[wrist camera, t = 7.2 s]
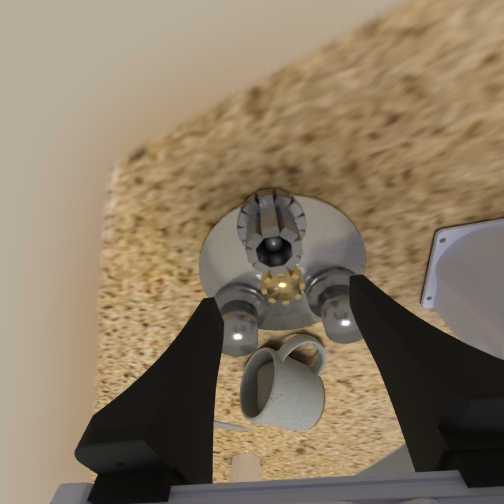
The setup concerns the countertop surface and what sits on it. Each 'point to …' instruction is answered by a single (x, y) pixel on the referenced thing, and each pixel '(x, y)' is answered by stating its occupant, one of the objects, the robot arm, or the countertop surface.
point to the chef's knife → (228, 426)
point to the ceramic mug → (284, 387)
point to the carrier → (284, 279)
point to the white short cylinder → (245, 468)
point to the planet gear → (272, 230)
